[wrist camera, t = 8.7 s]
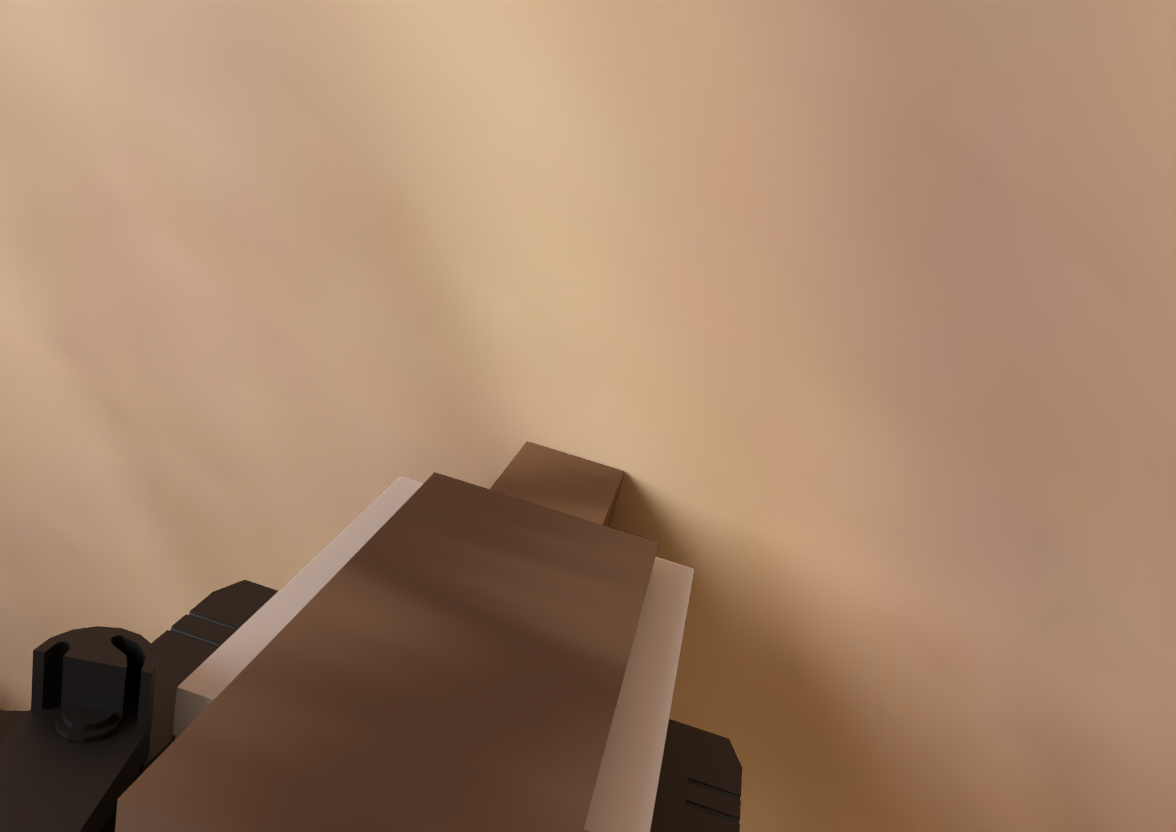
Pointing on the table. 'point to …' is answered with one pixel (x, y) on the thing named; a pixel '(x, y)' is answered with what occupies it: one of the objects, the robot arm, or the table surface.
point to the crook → (429, 674)
